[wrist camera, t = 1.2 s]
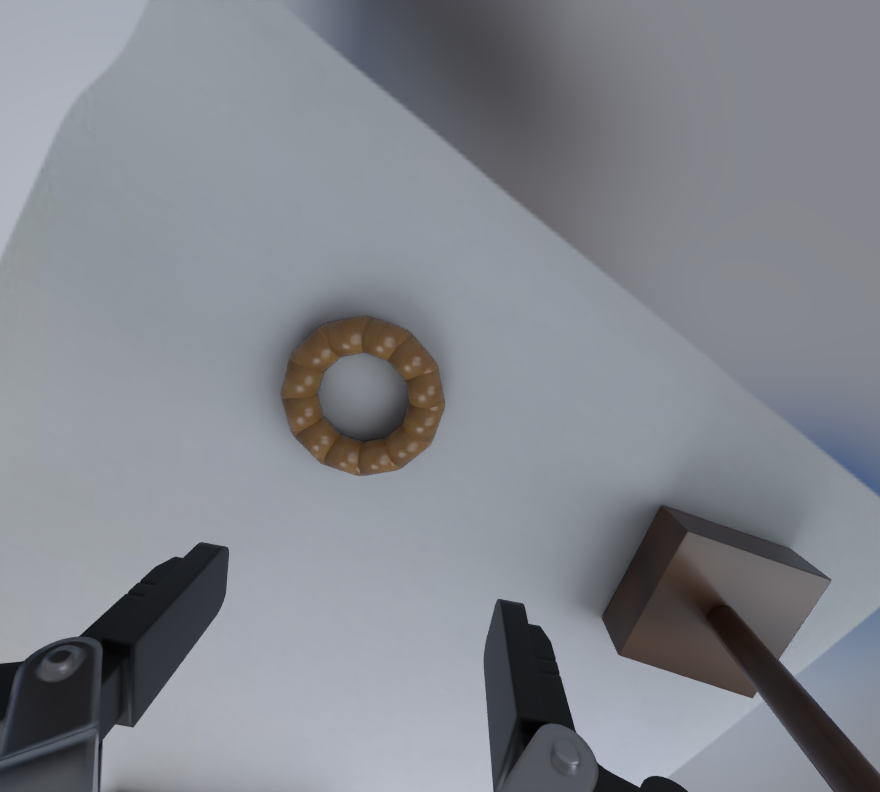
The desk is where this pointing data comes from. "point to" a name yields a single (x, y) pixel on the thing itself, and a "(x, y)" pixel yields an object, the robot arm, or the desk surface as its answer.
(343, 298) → the desk surface
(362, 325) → the segmented donut ring
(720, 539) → the peg stand
